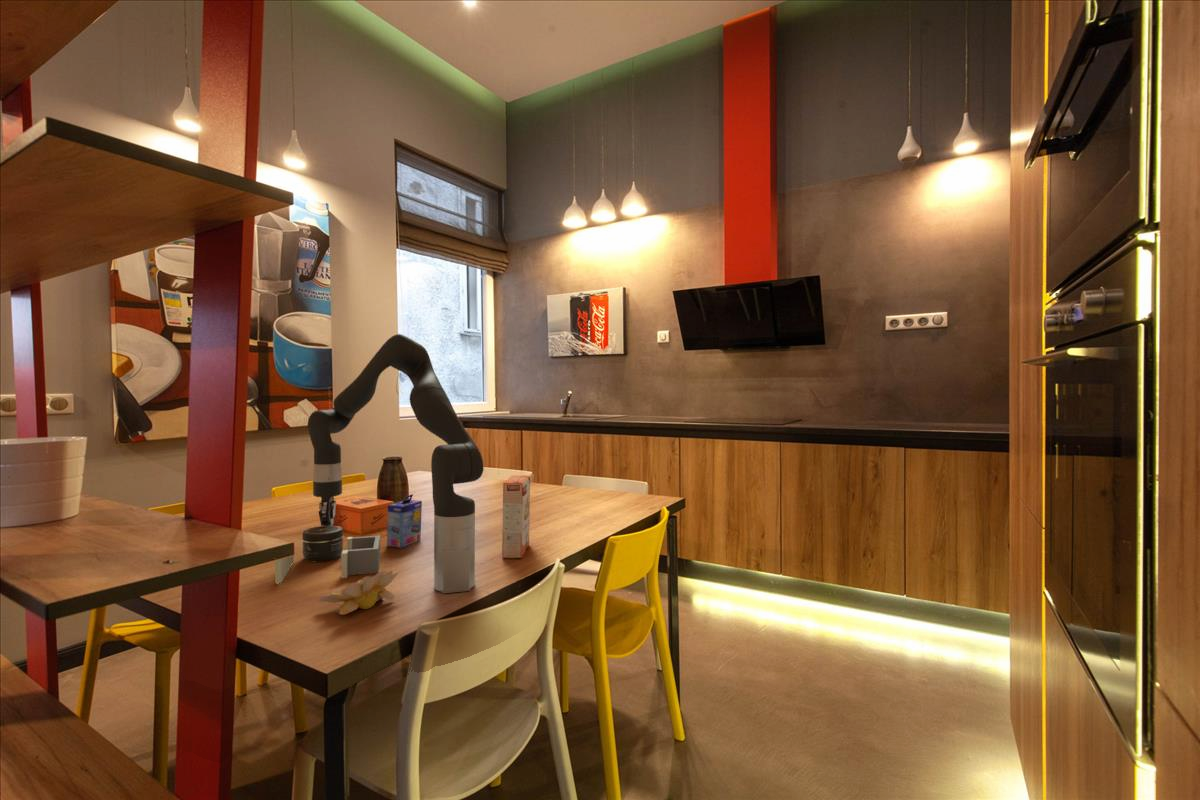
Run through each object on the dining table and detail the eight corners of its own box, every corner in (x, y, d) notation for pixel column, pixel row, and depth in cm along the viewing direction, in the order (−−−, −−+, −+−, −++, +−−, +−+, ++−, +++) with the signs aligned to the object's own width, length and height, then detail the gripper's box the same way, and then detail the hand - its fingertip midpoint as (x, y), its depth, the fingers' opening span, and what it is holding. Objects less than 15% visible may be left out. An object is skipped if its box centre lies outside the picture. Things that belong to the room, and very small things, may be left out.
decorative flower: (378, 580, 130) (381, 541, 128) (407, 603, 124) (411, 562, 122) (313, 605, 118) (315, 562, 116) (341, 631, 112) (344, 586, 110)
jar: (293, 561, 150) (293, 532, 150) (320, 551, 160) (320, 524, 159) (325, 564, 147) (325, 535, 147) (351, 553, 157) (351, 526, 157)
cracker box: (523, 559, 153) (523, 482, 152) (501, 559, 153) (501, 482, 152) (530, 545, 167) (531, 474, 166) (510, 544, 167) (510, 474, 166)
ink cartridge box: (402, 548, 162) (402, 498, 162) (386, 546, 164) (385, 497, 164) (422, 539, 172) (422, 492, 172) (407, 538, 173) (407, 491, 173)
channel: (377, 574, 139) (377, 550, 139) (275, 584, 132) (275, 559, 132) (380, 556, 155) (380, 534, 154) (288, 564, 147) (288, 541, 147)
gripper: (337, 482, 157) (338, 543, 158) (345, 474, 170) (345, 532, 170) (308, 483, 155) (308, 545, 155) (317, 475, 168) (318, 533, 168)
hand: (327, 538), depth 163 cm, fingers closed
